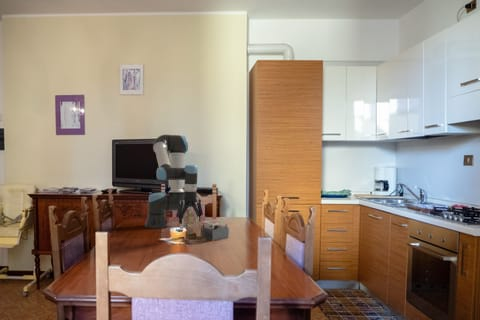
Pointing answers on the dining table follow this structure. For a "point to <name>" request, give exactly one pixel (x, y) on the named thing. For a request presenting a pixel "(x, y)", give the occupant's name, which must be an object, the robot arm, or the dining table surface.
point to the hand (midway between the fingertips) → (189, 228)
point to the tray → (194, 239)
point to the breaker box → (214, 230)
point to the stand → (191, 234)
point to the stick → (189, 221)
